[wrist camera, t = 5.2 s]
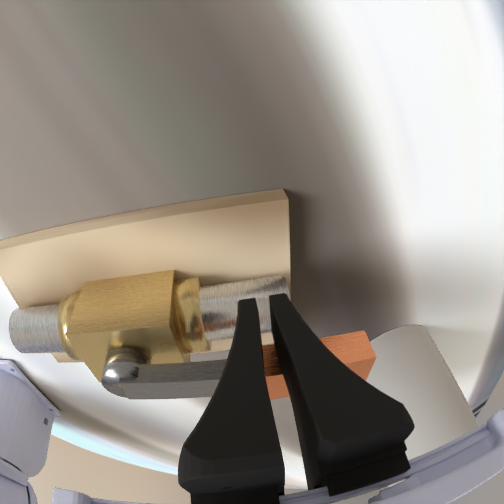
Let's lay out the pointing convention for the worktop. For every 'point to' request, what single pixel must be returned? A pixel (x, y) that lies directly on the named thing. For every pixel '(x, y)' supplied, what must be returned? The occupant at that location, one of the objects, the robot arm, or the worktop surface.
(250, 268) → the mount board
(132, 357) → the valve lever
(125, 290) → the valve pipe
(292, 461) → the worktop surface
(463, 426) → the cup
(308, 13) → the worktop surface
